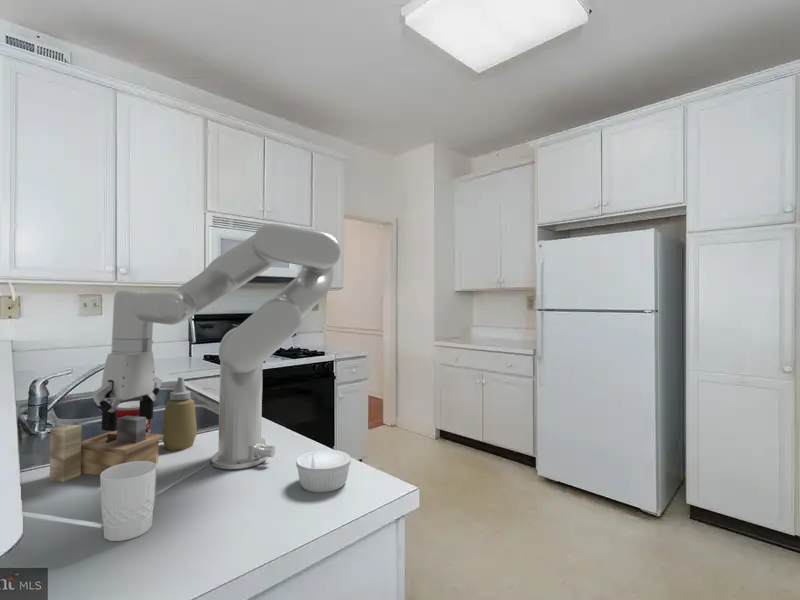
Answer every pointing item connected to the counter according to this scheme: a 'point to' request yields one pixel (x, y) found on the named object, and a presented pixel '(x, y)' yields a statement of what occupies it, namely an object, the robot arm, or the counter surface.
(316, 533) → the counter surface
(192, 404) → the squeeze bottle
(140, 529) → the white cup
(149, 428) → the canned food
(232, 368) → the robot arm
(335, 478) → the ramekin
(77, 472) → the wooden block
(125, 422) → the wooden frame
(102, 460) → the toolbox
